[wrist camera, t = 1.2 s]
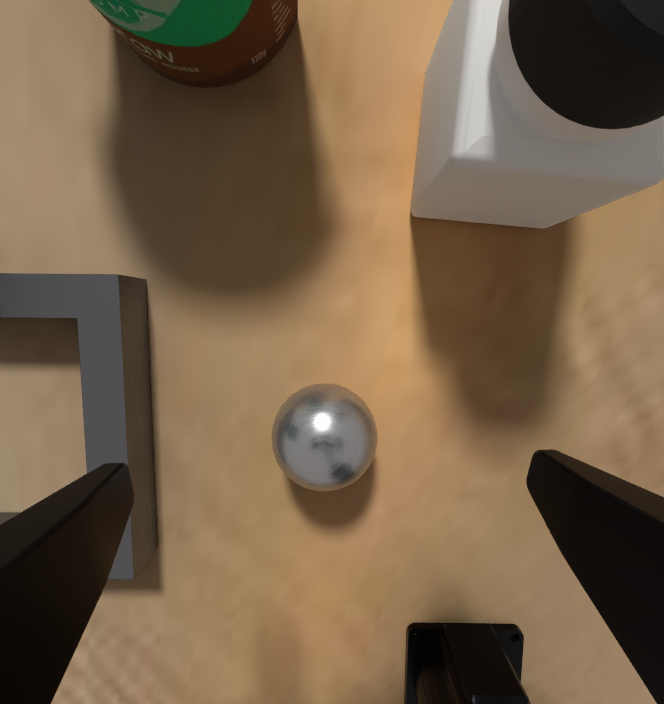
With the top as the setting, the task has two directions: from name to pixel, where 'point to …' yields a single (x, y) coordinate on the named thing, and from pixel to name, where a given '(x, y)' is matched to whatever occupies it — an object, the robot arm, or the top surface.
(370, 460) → the steel ball
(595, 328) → the top surface
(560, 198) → the medicine bottle
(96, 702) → the top surface
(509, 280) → the top surface
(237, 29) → the food container
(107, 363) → the grey square frame
